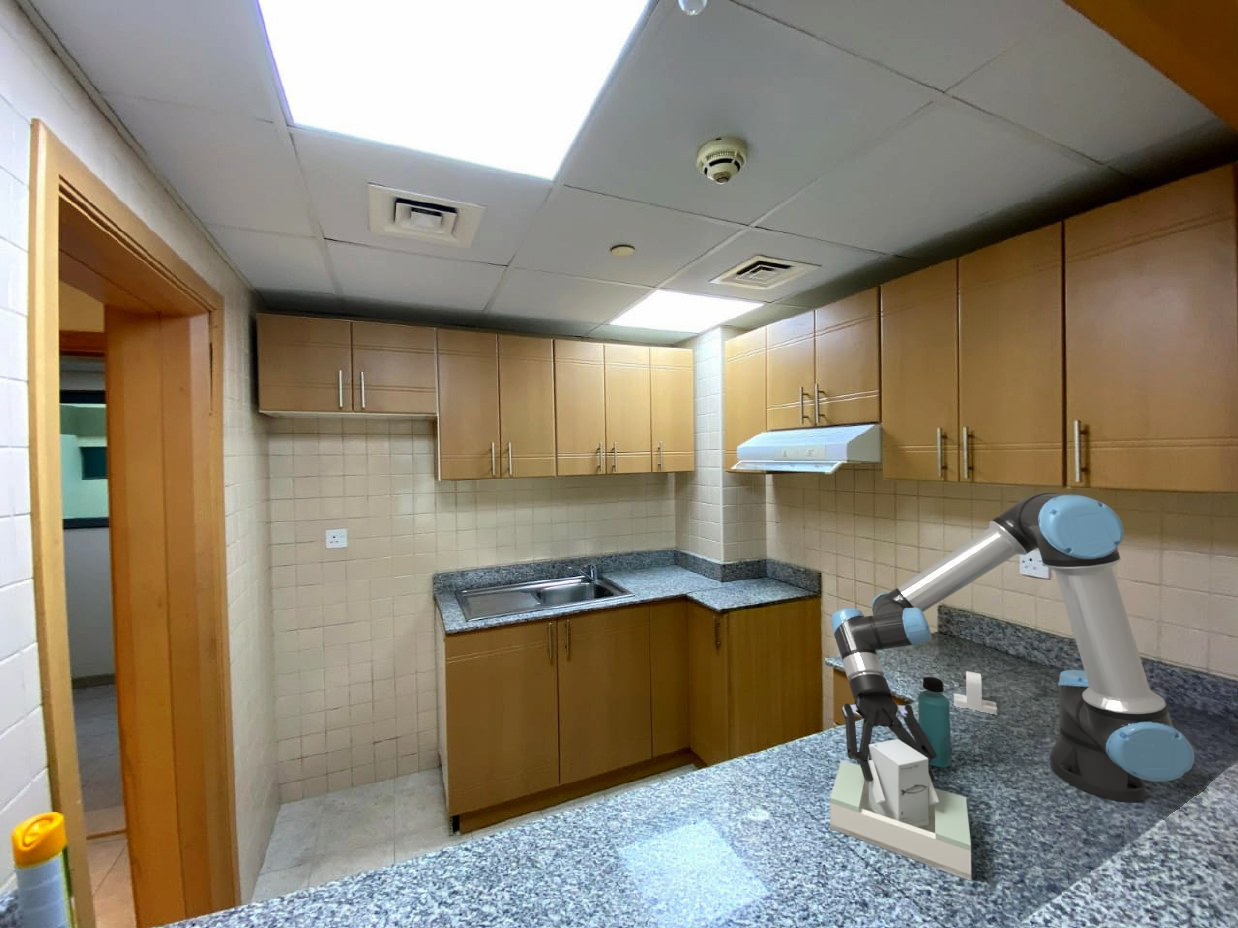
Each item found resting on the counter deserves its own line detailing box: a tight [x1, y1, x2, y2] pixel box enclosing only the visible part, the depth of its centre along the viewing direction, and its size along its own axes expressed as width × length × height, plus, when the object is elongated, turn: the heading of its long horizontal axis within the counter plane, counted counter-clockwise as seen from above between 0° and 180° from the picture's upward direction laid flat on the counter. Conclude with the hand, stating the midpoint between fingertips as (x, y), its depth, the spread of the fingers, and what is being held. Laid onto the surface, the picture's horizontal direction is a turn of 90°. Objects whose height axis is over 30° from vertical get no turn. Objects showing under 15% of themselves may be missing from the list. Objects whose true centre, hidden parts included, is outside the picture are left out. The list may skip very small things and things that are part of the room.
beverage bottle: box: [917, 676, 953, 768], centre depth 113 cm, size 6×7×20 cm
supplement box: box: [868, 738, 929, 827], centre depth 93 cm, size 7×7×13 cm
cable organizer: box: [953, 670, 998, 716], centre depth 139 cm, size 5×10×10 cm, turn 56°
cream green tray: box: [829, 760, 972, 882], centre depth 93 cm, size 22×14×6 cm, turn 57°
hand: (907, 802), depth 90 cm, fingers closed on supplement box, 9 cm apart
